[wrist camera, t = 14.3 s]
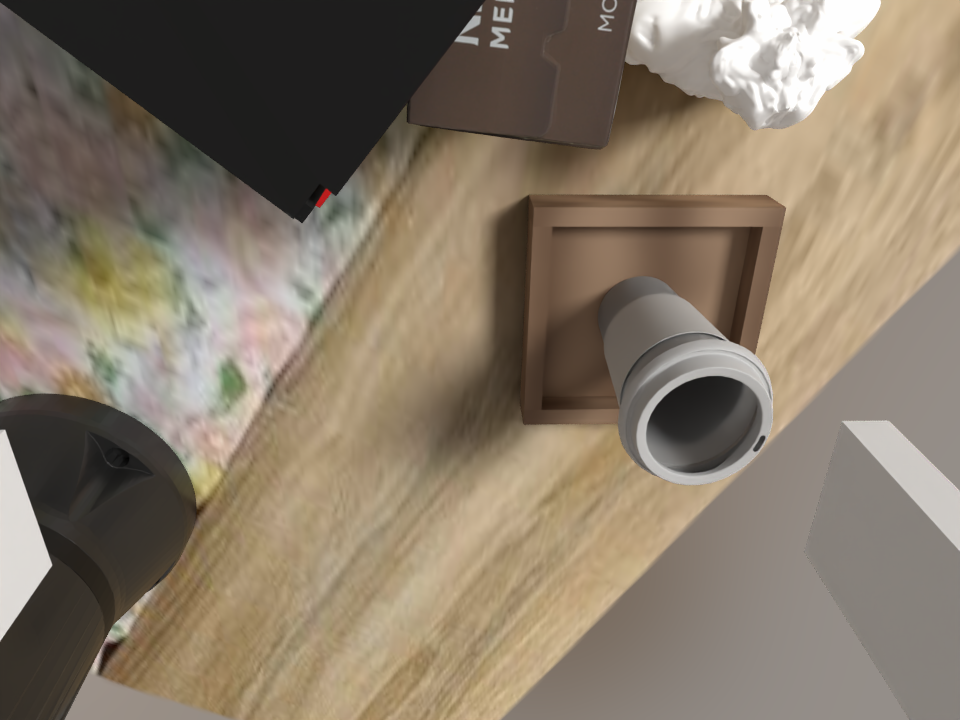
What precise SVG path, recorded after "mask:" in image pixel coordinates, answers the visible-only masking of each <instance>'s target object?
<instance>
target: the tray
mask: <svg viewBox="0 0 960 720" xmlns="http://www.w3.org/2000/svg"><path fill="white" fill-rule="evenodd" d="M785 211H786V207H784V206H783V205H781V204H780V203H778V202H777V201H775V200H774V199H772V198H771V197H769V196H767V195H529V207H528V230H527V253H526V276H525V299H524V322H523V345H522V368H521V391H520V406H521V412H522V417H523V423H524V425H526V424H618V416H619V409H620V408H619V404H618V401H617V397H616V394H615V390H614V387H613V383H612V379H611V376H610V372H609V369H608V365H607V362H606V358H605V355H604V342H603V339H602V335H601V332H600V328H599V324H598V311H599V307H600V304H601V302H602V300H603V298H604V297H605V295H606V294H607V293H608V292H609V291H610V290H611V289H612V288H613V287H614V286H615V285H617V284H618V283H620V282H622V281H624V280H626V279H629V278H633V277H638V276H648V277H653V278H656V279H659V280H661V281H663V282H664V283H666V284H667V285H668V286H669V287H670V288H671V289H672V290H673V291H674V292H675V293H676V294H677V295H678V296H679V297H681V298H683V299H685V300H686V301H688V302H689V303H690V304H691V305H692V306H693V307H695V308H696V309H697V310H698V311H699V312H700V313H701V314H702V315H703V316H704V317H705V318H706V319H707V320H708V321H709V322H710V323H711V324H712V325H713V326H714V327H715V328H716V329H717V330H718V331H719V332H720V333H721V334H723V335H724V336H725V337H726V338H727V339H728V340H729V341H730V342H733V343H735V344H738V345H740V346H743V347H745V348H746V349H748V350H749V351H751V352H752V353H753V354H754V355H755V352H756V348H757V343H758V338H759V333H760V329H761V324H762V319H763V315H764V310H765V305H766V300H767V296H768V291H769V286H770V282H771V277H772V272H773V267H774V263H775V258H776V253H777V249H778V244H779V239H780V234H781V230H782V225H783V220H784V216H785Z"/></svg>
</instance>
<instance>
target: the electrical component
mask: <svg viewBox="0 0 960 720" xmlns="http://www.w3.org/2000/svg"><path fill="white" fill-rule="evenodd" d="M485 1H486V0H0V2H1V3H2V4H3V5H5V6H6V7H7V8H9V9H10V10H11V11H13V12H14V13H15V14H17V15H18V16H20V17H21V18H22V19H24V20H25V21H26V22H28V23H29V24H30V25H32V26H33V27H34V28H36V29H37V30H38V31H40V32H41V33H43V34H44V35H45V36H47V37H48V38H49V39H51V40H52V41H53V42H55V43H56V44H57V45H59V46H60V47H62V48H63V49H64V50H66V51H67V52H68V53H70V54H71V55H72V56H74V57H75V58H76V59H78V60H79V61H80V62H82V63H83V64H85V65H86V66H87V67H89V68H90V69H91V70H93V71H94V72H95V73H97V74H98V75H99V76H101V77H102V78H103V79H105V80H106V81H108V82H109V83H110V84H112V85H113V86H114V87H116V88H117V89H118V90H120V91H121V92H122V93H124V94H125V95H126V96H128V97H129V98H131V99H132V100H133V101H135V102H136V103H137V104H139V105H140V106H141V107H143V108H144V109H145V110H147V111H148V112H149V113H151V114H152V115H154V116H155V117H156V118H158V119H159V120H160V121H162V122H163V123H164V124H166V125H167V126H168V127H170V128H171V129H172V130H174V131H175V132H177V133H178V134H179V135H181V136H182V137H183V138H185V139H186V140H187V141H189V142H190V143H191V144H193V145H194V146H195V147H197V148H198V149H200V150H201V151H202V152H204V153H205V154H206V155H208V156H209V157H210V158H212V159H213V160H214V161H216V162H217V163H219V164H220V165H221V166H223V167H224V168H225V169H227V170H228V171H229V172H231V173H232V174H233V175H235V176H236V177H237V178H239V179H240V180H242V181H243V182H244V183H246V184H247V185H248V186H250V187H251V188H252V189H254V190H255V191H256V192H258V193H259V194H260V195H262V196H263V197H265V198H266V199H267V200H269V201H270V202H271V203H273V204H274V205H275V206H277V207H278V208H279V209H281V210H282V211H283V212H285V213H286V214H288V215H289V216H290V217H292V218H293V219H294V218H296V219H297V220H298V221H300V222H301V223H303V222H304V220H305V219H306V218H307V216H308V215H309V214H310V213H311V211H312V210H313V208H314V207H315V206H317V207H319V208H320V207H321V206H322V204H323V203H324V202H325V200H326V199H327V198H328V197H329V195H330V194H331V193H333V194H334V195H335V196H336V195H337V194H338V193H339V191H340V190H341V189H342V188H343V186H344V185H345V184H346V182H347V181H348V180H349V178H350V177H351V176H352V174H353V173H354V172H355V171H356V169H357V168H358V167H359V165H360V164H361V163H362V161H363V160H364V159H365V157H366V156H367V155H368V154H369V152H370V151H371V150H372V148H373V147H374V146H375V144H376V143H377V142H378V140H379V139H380V138H381V137H382V135H383V134H384V133H385V131H386V130H387V129H388V127H389V126H390V125H391V123H392V122H393V121H394V120H395V118H396V117H397V116H398V114H399V113H400V112H401V110H402V109H403V108H404V106H405V105H406V104H407V103H408V101H409V100H410V99H411V97H412V96H413V95H414V93H415V92H416V91H417V89H418V88H419V87H420V86H421V84H422V83H423V82H424V80H425V79H426V78H427V76H428V75H429V74H430V72H431V71H432V70H433V69H434V67H435V66H436V65H437V63H438V62H439V61H440V59H441V58H442V57H443V55H444V54H445V53H446V52H447V50H448V49H449V48H450V46H451V45H452V44H453V42H454V41H455V40H456V38H457V37H458V36H459V35H460V33H461V32H462V31H463V29H464V28H465V27H466V25H467V24H468V23H469V21H470V20H471V19H472V18H473V16H474V15H475V14H476V12H477V11H478V10H479V8H480V7H481V6H482V4H483V3H484V2H485Z"/></svg>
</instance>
